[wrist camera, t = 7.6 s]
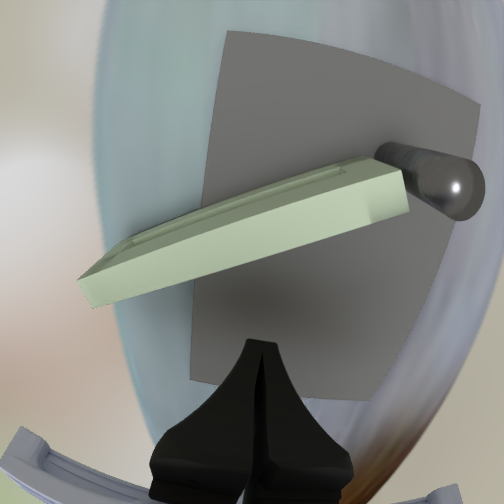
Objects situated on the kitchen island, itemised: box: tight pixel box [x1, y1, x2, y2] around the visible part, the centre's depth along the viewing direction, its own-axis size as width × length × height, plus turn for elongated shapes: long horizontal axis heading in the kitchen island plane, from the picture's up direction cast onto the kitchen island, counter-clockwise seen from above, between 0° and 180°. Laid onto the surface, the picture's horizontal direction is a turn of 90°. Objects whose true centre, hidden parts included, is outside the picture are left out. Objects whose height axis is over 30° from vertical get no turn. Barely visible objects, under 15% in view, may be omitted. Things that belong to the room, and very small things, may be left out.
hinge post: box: [374, 142, 485, 221], centre depth 11 cm, size 2×2×7 cm
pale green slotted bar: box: [77, 155, 410, 309], centre depth 13 cm, size 14×2×5 cm, turn 111°
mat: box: [190, 31, 481, 401], centre depth 16 cm, size 22×14×1 cm, turn 171°
